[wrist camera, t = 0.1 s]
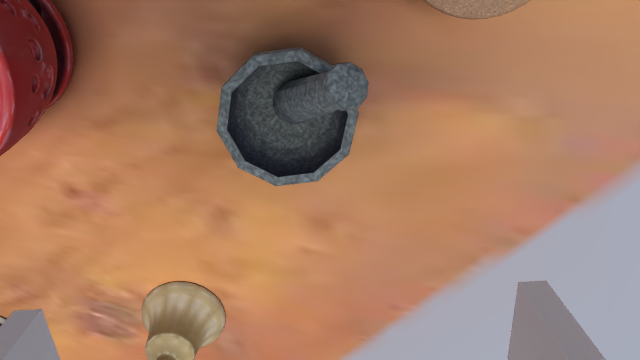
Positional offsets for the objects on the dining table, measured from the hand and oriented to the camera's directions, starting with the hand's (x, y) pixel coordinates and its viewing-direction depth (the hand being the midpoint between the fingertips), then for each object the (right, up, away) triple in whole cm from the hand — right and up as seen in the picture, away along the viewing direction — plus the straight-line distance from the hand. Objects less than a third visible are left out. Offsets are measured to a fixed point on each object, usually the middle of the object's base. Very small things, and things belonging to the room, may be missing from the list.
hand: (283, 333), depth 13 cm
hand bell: (-13, -9, +35) cm, 38 cm away
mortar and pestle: (-1, +12, +26) cm, 28 cm away
